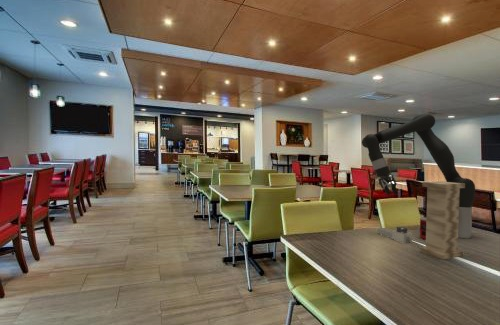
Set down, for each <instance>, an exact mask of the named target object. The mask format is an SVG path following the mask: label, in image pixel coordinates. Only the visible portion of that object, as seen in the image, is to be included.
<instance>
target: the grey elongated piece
mask: <svg viewBox="0 0 500 325" xmlns="http://www.w3.org/2000/svg"><path fill="white" fill-rule="evenodd" d="M377 233H380V234H382V235H381V236H383V235H385V236H384V237H386V236H388V237H387V238H389V237H390V239H391V240H392V239H394V240H393V241H395V240H396V241H395V242H398V241H399V243H401V242H402V243H401V244H409V242H410V243H412V241H413V233H412V232H410V231H408V228H407V227H405V226H396V229H393V230H389V229H386V228H382V227H380V228H377ZM380 234H379V235H380Z"/></svg>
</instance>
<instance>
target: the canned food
mask: <svg viewBox="0 0 500 325" xmlns="http://www.w3.org/2000/svg"><path fill="white" fill-rule="evenodd" d="M426 217H427V216H426ZM426 217H420V218H419V219H420V220H419V238H420V240H424V241H426Z"/></svg>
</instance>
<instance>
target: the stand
mask: <svg viewBox="0 0 500 325" xmlns="http://www.w3.org/2000/svg"><path fill="white" fill-rule="evenodd" d="M421 185H422V186H421V187H425V188H427V189H426V191H427V192H426V240H425V246H422V247H420V249H419V250H420V253H422V254H425V255H427V256H430V255H431V257H433V258H437V259H439V260H442V261H443V260H444V261H445V260H448V259H452V258H458V257H463V256H464V252H463V250H459V237H458V225H459V195H460V188H465V184H464V183H453V182H447V181H422V184H421Z"/></svg>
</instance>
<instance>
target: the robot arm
mask: <svg viewBox="0 0 500 325" xmlns="http://www.w3.org/2000/svg"><path fill="white" fill-rule="evenodd" d="M435 125H436V118H435V116H433V115H432V114H430V113H423V114H420V115H416V116H414V117H413V118H412V120H411V121H408V122H405V123H402V124H398V125H394V126H392V127H387V128H385V129H382V130H380V131H378V132H377V133H374V134H373V133H369V134H366V135H365V136H364V137H363V138H362V140H361V145H362V146H363V147H364V148H366V149H367V151H368V158H369V160H370V162H371V165H372V168H373V171H374V173H375V175H376V178H378V179H377V180H378V182H379V184H380V187H381V189H383V190H384V191H385V194H386V195H387V196H390V195H391V194H392V193H393V195H397V194H398V193H399V192H398V190H397V188H396V186H397V184H398V183H397V181H396V179H395V177H394V175H392V174H391V170H390V167H389V165H388V163H387V161H386V159H385V157H384V155H383V153H382V151H381V147H380V144H383V143H387V142H389V141H392V140H395V139H398V138H400V137H403V136H405V135H409V134H412V133H415V132H416V133H417V135H418V136H419V139H421V140H422V142H423V143H424V146H425V147H426V149H427V150H428V152H429V154H430V155H431V157H432V159H433V160H434V162H435V164H436V165H437V167H438V168H439V170H440V172H441V173H442V176H443V177H444V180H445V182H453V183H464V184H465V188H460V195H459V225H458V239H471V238H472V233H473V232H472V231H473V230H472V229H473V226H472V225H473V220H472V215H473V204H474V202H475V198H476V197H475V195H476V185H475V182H474V181H473V180H472V179H470V178H466V177H465V178H464V177H462V175H460V173H459V172H458V170H457V169H456V165H455V157H454V155H453V152H452V150H451V149H450V147H449V146H448V145H447V144H446V143H445V142H444V141H443V140H442V139H441V138H440V137H438V136H437V135H436V134H435V133H434V131H433V129H432V128H433V127H435ZM389 187H390V188H389ZM390 189H391V190H390ZM391 191H392V192H391Z"/></svg>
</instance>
